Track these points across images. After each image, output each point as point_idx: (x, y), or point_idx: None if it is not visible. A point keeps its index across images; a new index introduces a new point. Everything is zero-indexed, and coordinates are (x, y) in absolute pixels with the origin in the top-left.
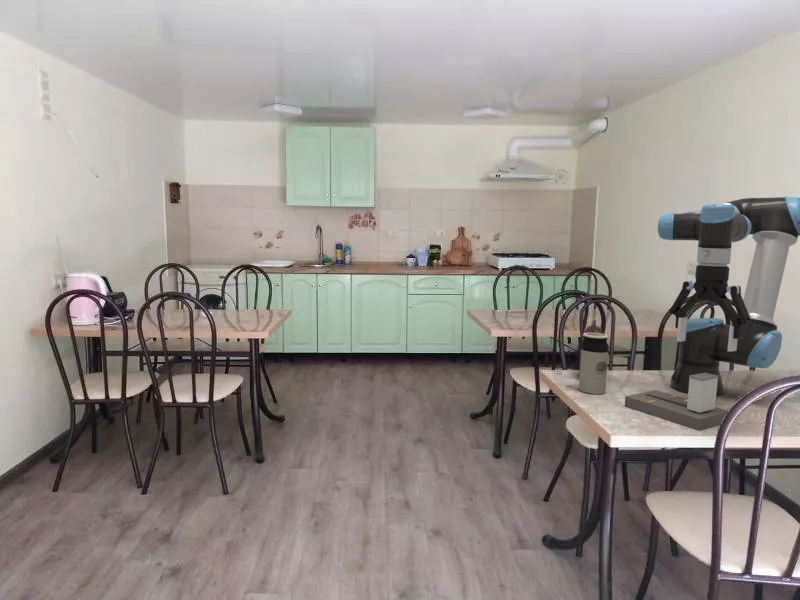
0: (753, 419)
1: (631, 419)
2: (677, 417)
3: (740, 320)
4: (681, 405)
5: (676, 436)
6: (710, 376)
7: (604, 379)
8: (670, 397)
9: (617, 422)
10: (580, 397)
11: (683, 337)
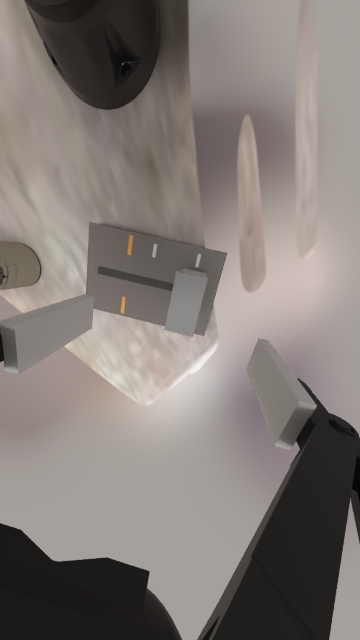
0: (253, 198)
1: (130, 349)
2: None
3: (352, 501)
4: (160, 288)
5: (191, 369)
6: (197, 302)
7: (19, 267)
8: (129, 255)
9: (126, 371)
10: None
11: (85, 311)
